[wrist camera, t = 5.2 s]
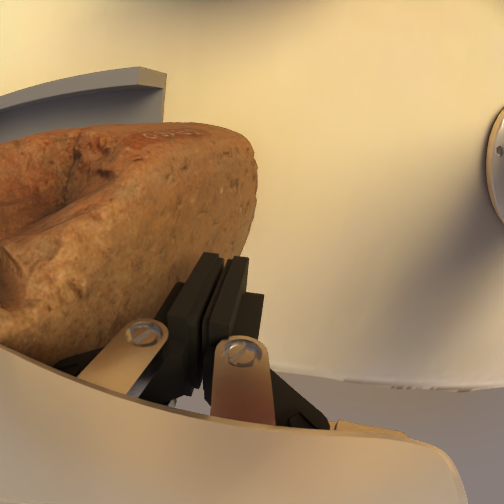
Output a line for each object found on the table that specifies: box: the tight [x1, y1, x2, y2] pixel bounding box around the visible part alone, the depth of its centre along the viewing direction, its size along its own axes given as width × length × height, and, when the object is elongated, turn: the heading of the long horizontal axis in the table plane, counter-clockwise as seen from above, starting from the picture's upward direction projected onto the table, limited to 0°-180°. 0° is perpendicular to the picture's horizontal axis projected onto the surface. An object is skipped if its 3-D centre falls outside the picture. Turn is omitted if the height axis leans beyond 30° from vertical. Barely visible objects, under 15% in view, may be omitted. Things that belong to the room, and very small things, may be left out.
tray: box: [0, 67, 167, 144], centre depth 22 cm, size 25×18×4 cm
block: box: [0, 122, 258, 367], centre depth 13 cm, size 11×8×20 cm
